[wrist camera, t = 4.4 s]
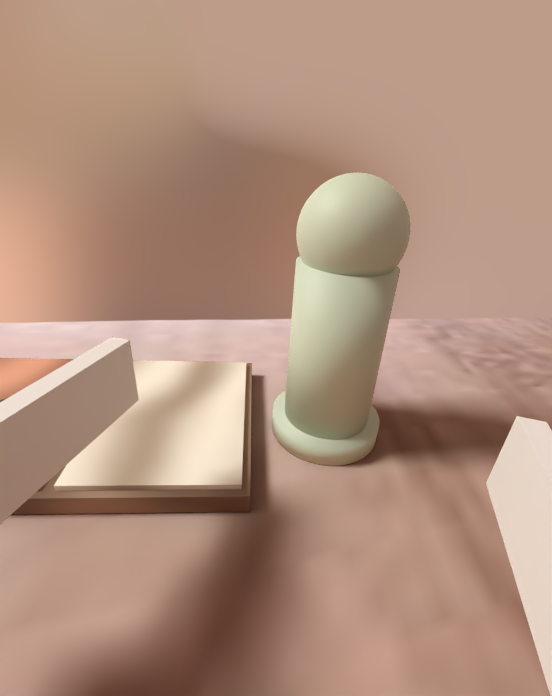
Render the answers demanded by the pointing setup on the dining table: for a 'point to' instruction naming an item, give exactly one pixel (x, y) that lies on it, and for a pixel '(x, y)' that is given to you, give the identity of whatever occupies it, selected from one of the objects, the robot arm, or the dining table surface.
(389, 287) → the pawn
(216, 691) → the dining table surface
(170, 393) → the board
